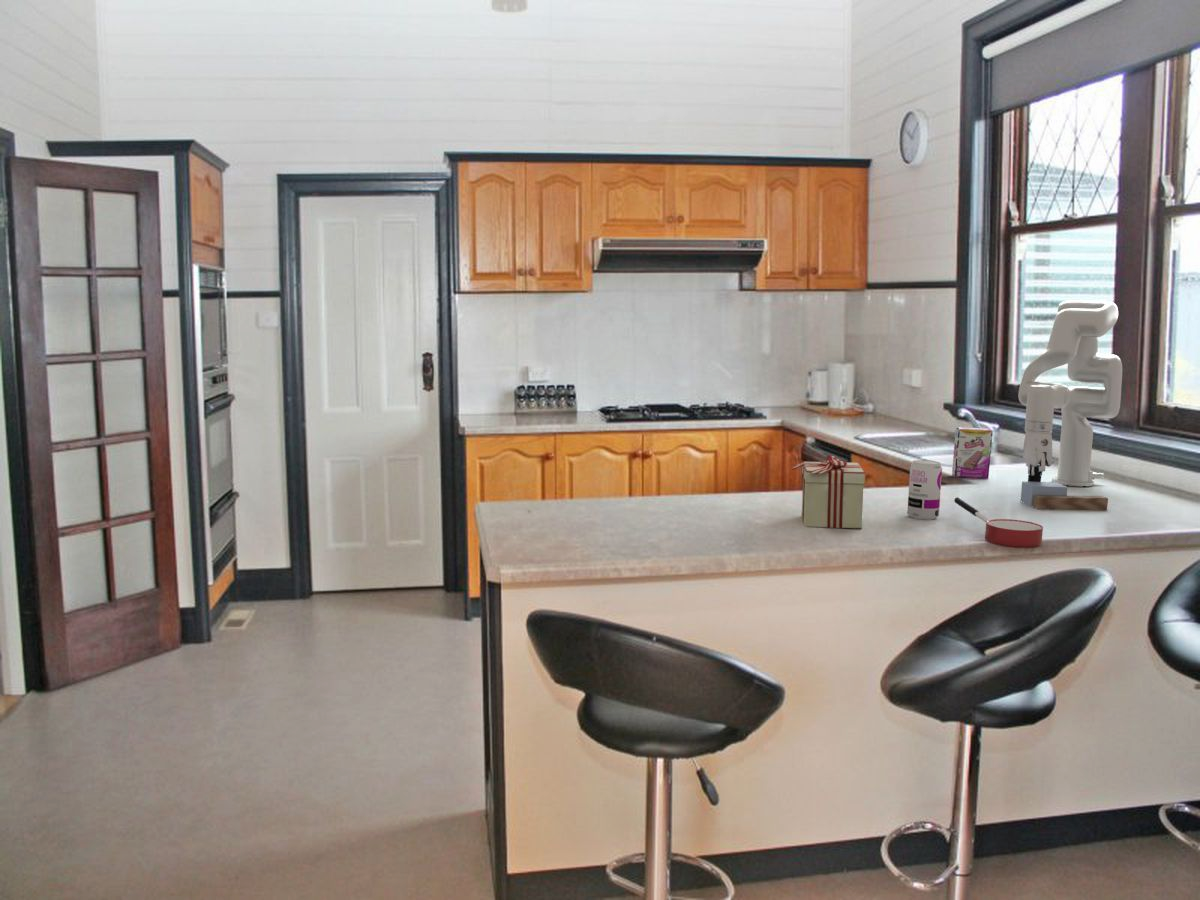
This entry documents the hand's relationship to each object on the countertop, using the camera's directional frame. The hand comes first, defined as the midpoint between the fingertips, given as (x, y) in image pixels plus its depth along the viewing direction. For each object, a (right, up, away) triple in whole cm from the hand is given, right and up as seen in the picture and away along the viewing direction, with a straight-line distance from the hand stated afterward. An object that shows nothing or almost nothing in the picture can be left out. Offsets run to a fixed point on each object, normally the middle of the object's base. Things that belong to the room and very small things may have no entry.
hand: (1033, 488), depth 323 cm
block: (+1, -5, -5) cm, 7 cm away
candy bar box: (-5, +2, +40) cm, 41 cm away
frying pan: (-30, -10, -47) cm, 57 cm away
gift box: (-70, -8, -39) cm, 80 cm away
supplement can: (-41, -7, -28) cm, 50 cm away
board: (+6, -5, -11) cm, 14 cm away
